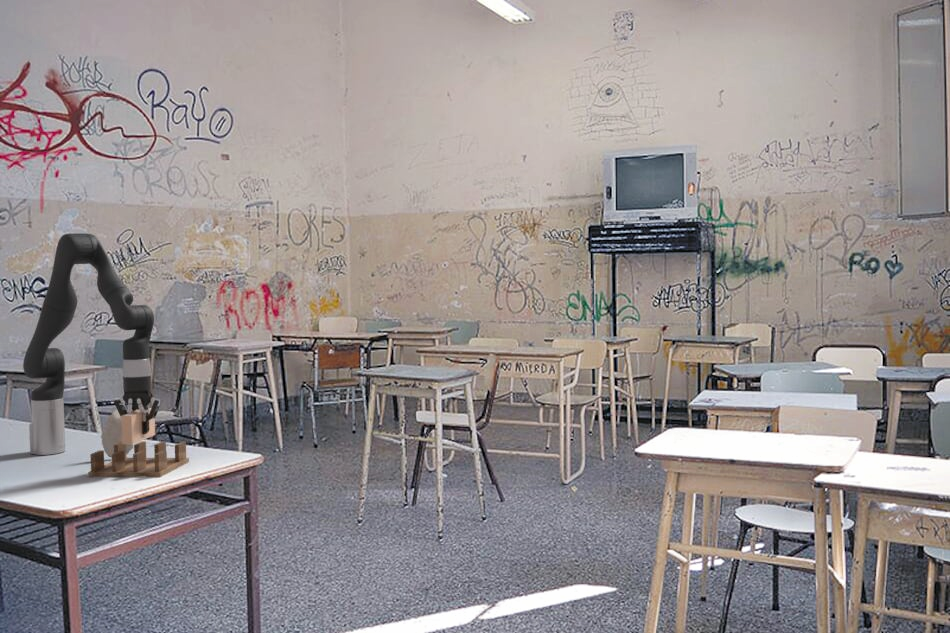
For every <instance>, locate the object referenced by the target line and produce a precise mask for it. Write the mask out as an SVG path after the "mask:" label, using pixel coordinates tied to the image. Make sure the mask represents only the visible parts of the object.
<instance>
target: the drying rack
mask: <svg viewBox="0 0 950 633" xmlns="http://www.w3.org/2000/svg"><path fill="white" fill-rule="evenodd" d="M153 447H154V450H153V451H154V455H153V456H154V457H147V442H146V441H139V442H136V443H134V444H133V451H134V453H133V454H132V457H127V456H128V454H126V444H122V442H120V443H117V444H115V445H114V453H113V454H112V458H111V461H110V462H108V463H105V454H104V453H105V450H104V449H103V450H101V449H100V450H98V451H95V452H92V453H90V470H89V471H88V472H87V477H99V478H100V477H103V478H104V477H105V478H106V477H109V478H110V477H116V478H118V477H121V478H125V477H126V478H127V477H128V478H129V477H130V478H131V477H132V478H133V477H135V478H138V477H137V476H146V477H145V478H161V477H163V476H165V475H167V474H168V473H171V472H172V471H174V470H177V469H178V468H180V467H182V466H184V465H186V464H188V463H189V462H190V457H187V442H186V441H180V442H179V443H176V444H175V445H174V457H167V455H168V454H167V453H168V452H167V442H166V441H160V442H158V443H155V444H154V445H153Z"/></svg>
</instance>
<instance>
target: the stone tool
mask: <svg viewBox="0 0 950 633" xmlns="http://www.w3.org/2000/svg"><path fill="white" fill-rule="evenodd" d="M100 438H101V445H102V448H103V450H104V453H105V454H106V455H107V457H109V458H111V459H112V454H113V453H114V445H115V444H117V443H120V442H122V425H121V416H120V414H119V412H118V410H117V408H116V409H115V410H114V411H113V412H112V413H111V414H110V416H109V417H108V418H107V419H106V421H105V422H104V426H103V430H102V432H101V436H100ZM132 450H134V444H126V455H129V453H130V451H132Z"/></svg>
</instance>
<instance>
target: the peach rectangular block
mask: <svg viewBox="0 0 950 633" xmlns="http://www.w3.org/2000/svg"><path fill="white" fill-rule="evenodd" d="M151 408H152V407H149V413H150V411H151ZM155 418H156V417H155ZM155 418H153V419H150V420H149V432H148V433H147V434H142V422H143V421H142V416H141V413H140V411H139V410H138V409H137V411H135V412H132V413H128V414H125V415H122V416H121V425H122V444H133V445H135V444H137V443H140V442H142V441H143V440H146V439H148V438H151V437H153V436H155V435H156V423H155V422H156V421H155V420H156V419H155Z"/></svg>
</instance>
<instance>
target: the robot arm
mask: <svg viewBox="0 0 950 633" xmlns="http://www.w3.org/2000/svg"><path fill="white" fill-rule="evenodd" d="M75 265H91V266H92V267H93V268H94V269H95V270H96V271H97V277H96V278H97V279H96V287H97V290H98V292H99V294H100V295H101V297H102V298H103V300H104V301H105V302H106V303H107V305H108V306H109V308H110V312H111V314H112V316H113V320H114V322H115V324H116V326H117V327H118V328H119V329H121V330H123V331H134V334H133V335H132V337H129V338H127V339H125V340H124V341H122V360H123V361H122V383H123V384H122V385H123V388H122V389H123V394H122V397H121V398H120V399H116V400H113V401H114V406H115V408H116V409H117V410H118V412H119V414H120V416H122V415H125V414H128V413H132V412H135V411H137V410H139V411H140V413H141V416H142V421H143V422H142V434H147V433H148V432H149V420H150V419H153V418H156V417H157V414H158V412H159V410H160V407H161V405H162V401H163V400H162V399H161V398H155V397H154V395H153V394H152V369H151V360H150V341H151V337H152V333H153V329H154V323H155V314H154V311H153V310H152V308H151V307H150V306H148V305H146V304H138V305H135V304H134V305H132V304H133V302H134V294H133V293H132V292H131V290H130V289H129V287H127V285H126V284H125V283H124V281H123V280H122V279H121V278H120V277H119V274H118V273H117V271H116V270H115V267H114V266H113V264H112V262H111V260H110V259H109V256H108V255H107V252H106V250H105V248H104V247H103V245H102V243H101V241H100V239H99V238H97V237H96V235H94V234H92V233H82V232H81V233H79V232H78V233H76V232H75V233H74V232H73V233H72V232H71V233H65V234H63V235H61V236H60V238H59V239H58V242H57V246H56V250H55V254H54V261H53V267H52V271H51V276H50V280H49V282H48V287H47V290H46V293H45V296H44V300H43V303H42V306H41V309H40V310H41V311H40V312H39V318H38V322H37V324H36V326H35V330H34V333H33V335H32V338H31V340H30V342H29V345H28V347H27V350H26V352H25V354H24V358H23V364H22V365H23V366H22V367H23V368H22V369H23V373H24V375H25V376H26V378H27V377H28V378H30V379H34V380H35V379H45V381H44V383H42V384H41V385H40V386H38V387H37V388H35V389H33V390H32V391H31V393H30V399H31V400H30V406H31V423H29V424H28V428H29V432H28V433H29V451H30V452H29V454H31V455H32V454H33V455H36V456H37V455H38V456H42V455H43V456H45V455H49V456H50V455H56V454H60V453H61V454H62V453H64V452H66V437H65V436H66V431H65V428H66V426H65V407H64V406H65V404H64V391H65V385H66V384H65V378H66V376H65V372H66V369H65V368H66V367H65V366H66V363H65V362H66V361H65V356H64V353H63V351H62V350H61V349H60V348H58V347H57V348H56V347H50V346H51V344H52V342H53V341H54V340H55V339H56V338H57V337H58V336H59V335H60V334H62V332H64V331H65V330H66V329H67V328H68V327H69V325H71V323H72V321H73V319H74V316H75V314H76V310H77V307H78V297H77V293H76V290H75V289H74V287H73V284H72V281H71V275H72V274H71V273H72V270H73V267H74V266H75ZM150 403H151V404H150ZM125 405H126V406H127V408H126V406H125ZM149 405H151V406H152V407H149ZM149 408H151V411H150V413H149Z"/></svg>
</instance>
